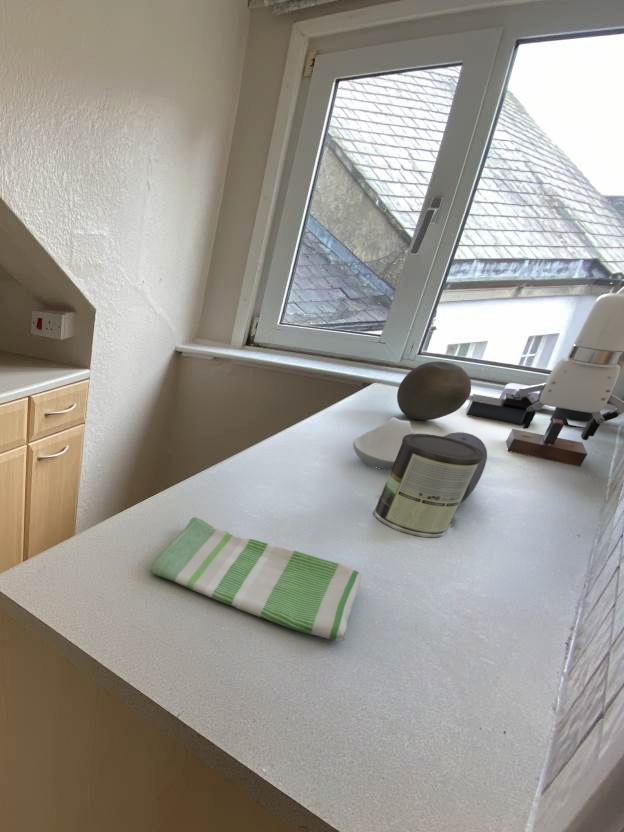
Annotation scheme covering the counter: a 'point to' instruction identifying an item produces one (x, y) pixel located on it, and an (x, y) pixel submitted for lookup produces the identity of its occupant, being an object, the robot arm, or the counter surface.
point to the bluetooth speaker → (477, 475)
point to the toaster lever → (518, 394)
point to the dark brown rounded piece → (433, 390)
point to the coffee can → (427, 484)
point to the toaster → (497, 408)
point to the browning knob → (553, 431)
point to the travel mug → (574, 413)
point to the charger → (512, 387)
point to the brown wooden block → (546, 447)
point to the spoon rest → (382, 443)
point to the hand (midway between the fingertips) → (553, 432)
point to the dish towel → (262, 579)
